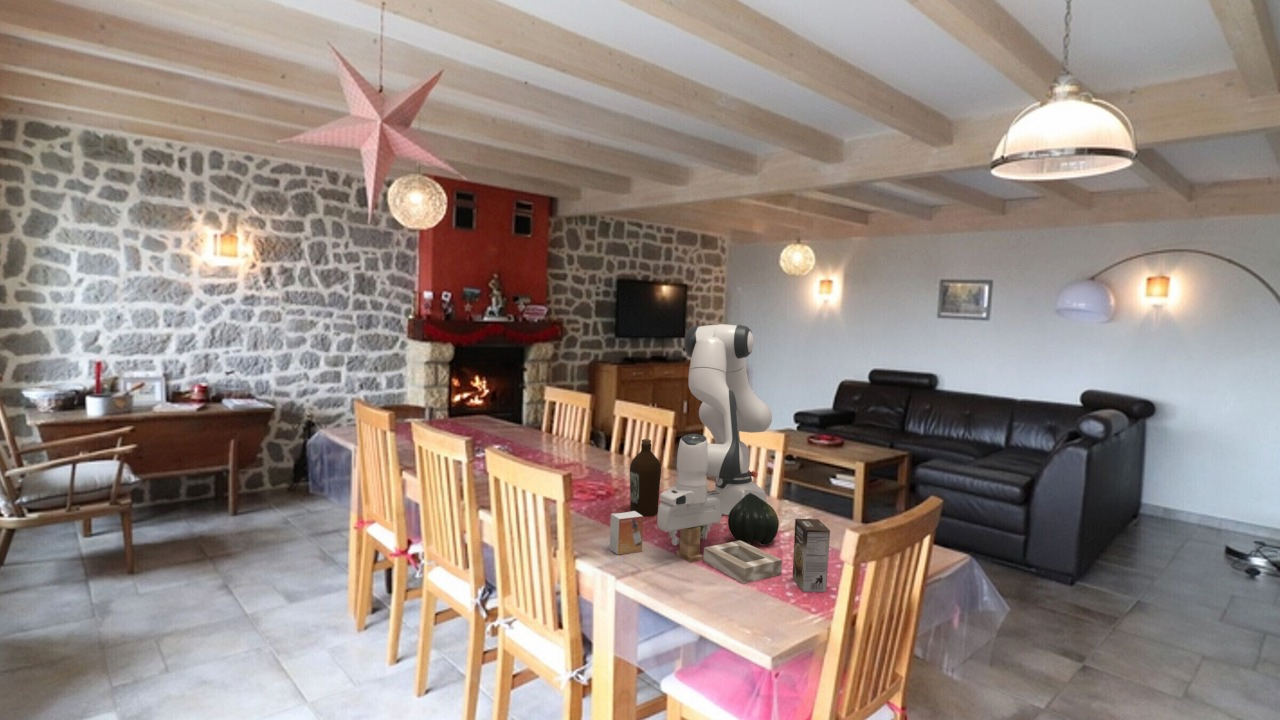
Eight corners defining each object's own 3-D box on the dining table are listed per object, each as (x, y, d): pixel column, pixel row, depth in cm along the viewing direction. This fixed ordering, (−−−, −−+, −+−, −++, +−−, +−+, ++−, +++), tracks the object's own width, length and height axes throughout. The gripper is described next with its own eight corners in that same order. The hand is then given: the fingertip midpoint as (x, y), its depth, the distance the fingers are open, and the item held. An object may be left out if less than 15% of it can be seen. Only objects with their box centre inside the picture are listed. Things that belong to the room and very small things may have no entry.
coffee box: (791, 577, 182) (794, 518, 180) (815, 577, 182) (818, 518, 181) (802, 592, 172) (805, 529, 171) (827, 592, 173) (830, 529, 172)
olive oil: (652, 506, 241) (654, 436, 239) (664, 515, 231) (667, 442, 229) (623, 509, 237) (625, 437, 235) (635, 518, 227) (637, 443, 225)
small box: (617, 555, 194) (618, 519, 193) (609, 549, 199) (610, 513, 198) (642, 551, 197) (643, 515, 196) (633, 545, 202) (635, 510, 201)
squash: (772, 537, 197) (778, 490, 205) (720, 531, 202) (728, 486, 211) (777, 557, 207) (783, 511, 216) (728, 551, 212) (736, 507, 221)
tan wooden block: (687, 552, 198) (688, 521, 197) (702, 560, 192) (703, 528, 191) (676, 554, 196) (677, 523, 195) (691, 562, 190) (692, 530, 189)
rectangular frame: (739, 553, 198) (740, 540, 198) (781, 574, 184) (782, 559, 183) (703, 561, 191) (703, 547, 191) (743, 583, 177) (744, 568, 176)
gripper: (713, 486, 201) (711, 533, 202) (655, 494, 190) (653, 543, 191) (727, 492, 195) (725, 539, 196) (668, 500, 184) (666, 551, 185)
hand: (689, 542), depth 193 cm, fingers open, 8 cm apart
